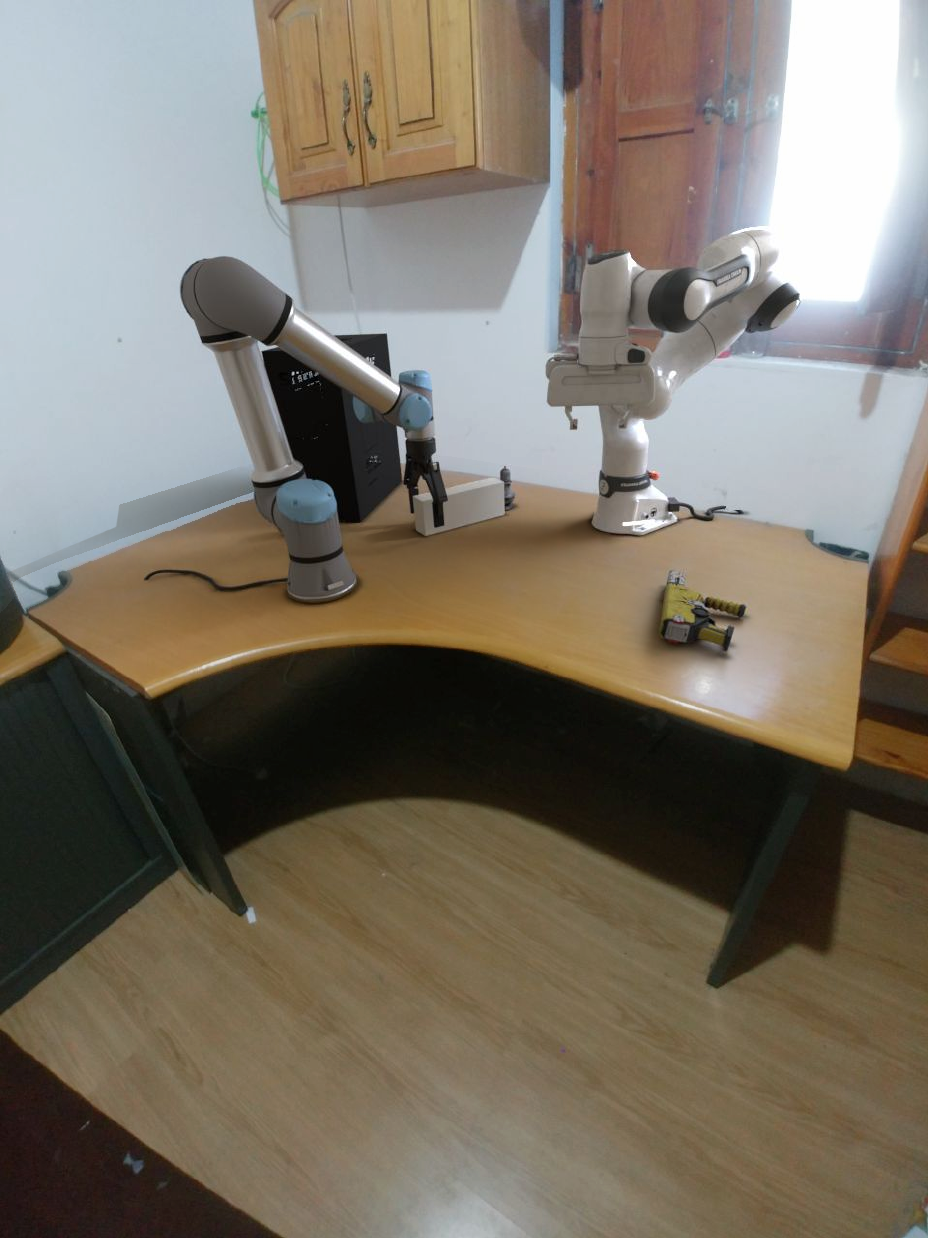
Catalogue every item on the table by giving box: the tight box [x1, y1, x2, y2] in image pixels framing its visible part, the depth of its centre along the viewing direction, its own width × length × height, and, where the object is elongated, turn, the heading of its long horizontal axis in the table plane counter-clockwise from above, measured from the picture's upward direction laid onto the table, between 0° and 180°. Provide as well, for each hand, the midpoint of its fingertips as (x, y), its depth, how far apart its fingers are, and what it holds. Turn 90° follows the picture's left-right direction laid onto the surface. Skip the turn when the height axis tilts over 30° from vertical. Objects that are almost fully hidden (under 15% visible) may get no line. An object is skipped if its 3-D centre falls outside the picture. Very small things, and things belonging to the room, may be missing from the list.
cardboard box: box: [260, 333, 403, 523], centre depth 177 cm, size 38×20×45 cm, turn 167°
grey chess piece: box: [499, 465, 517, 511], centre depth 172 cm, size 6×6×12 cm
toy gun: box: [659, 569, 747, 652], centre depth 114 cm, size 5×24×15 cm
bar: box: [413, 476, 506, 537], centre depth 164 cm, size 25×6×10 cm, turn 121°
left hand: (427, 519), depth 160 cm, fingers open, 13 cm apart
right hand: (597, 428), depth 119 cm, fingers open, 8 cm apart
